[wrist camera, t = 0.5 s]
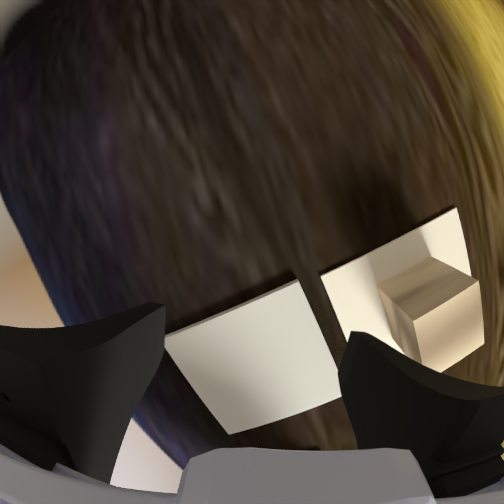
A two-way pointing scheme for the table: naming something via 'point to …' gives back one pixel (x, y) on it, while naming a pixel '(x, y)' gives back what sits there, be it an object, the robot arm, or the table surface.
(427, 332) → the maple block
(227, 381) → the grey mat
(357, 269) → the cream card
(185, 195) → the table surface
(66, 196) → the table surface
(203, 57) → the table surface
